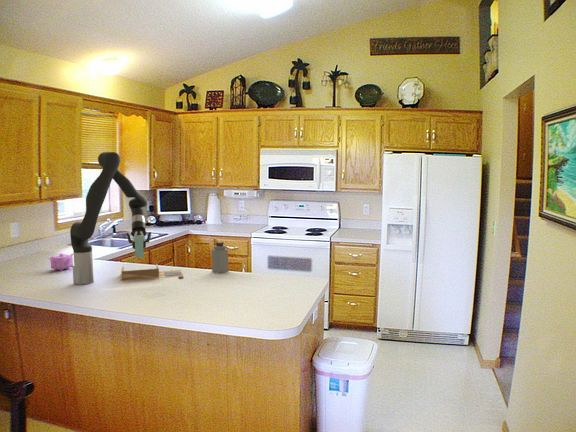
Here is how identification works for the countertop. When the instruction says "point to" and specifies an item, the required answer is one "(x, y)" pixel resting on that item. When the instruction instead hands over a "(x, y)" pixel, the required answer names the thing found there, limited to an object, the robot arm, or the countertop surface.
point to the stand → (148, 274)
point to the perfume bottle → (219, 258)
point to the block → (139, 246)
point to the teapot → (61, 262)
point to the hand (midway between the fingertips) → (139, 248)
